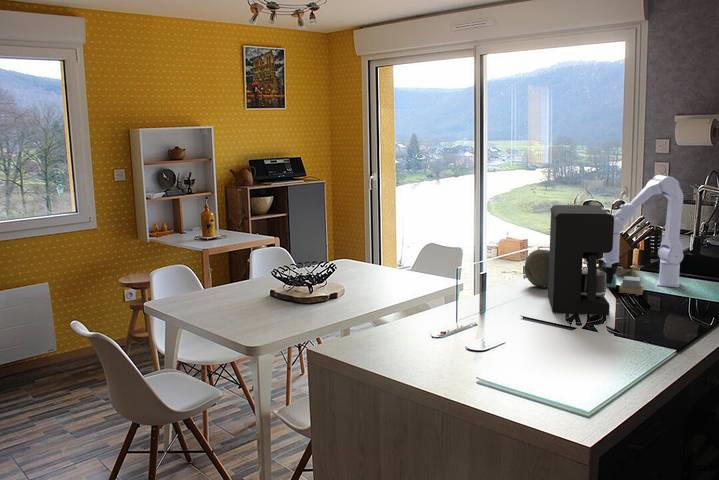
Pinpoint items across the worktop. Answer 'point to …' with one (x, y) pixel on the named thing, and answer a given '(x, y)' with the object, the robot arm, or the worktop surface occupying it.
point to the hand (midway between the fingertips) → (609, 281)
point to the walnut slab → (631, 290)
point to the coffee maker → (578, 258)
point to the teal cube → (613, 281)
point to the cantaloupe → (538, 268)
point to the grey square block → (631, 282)
